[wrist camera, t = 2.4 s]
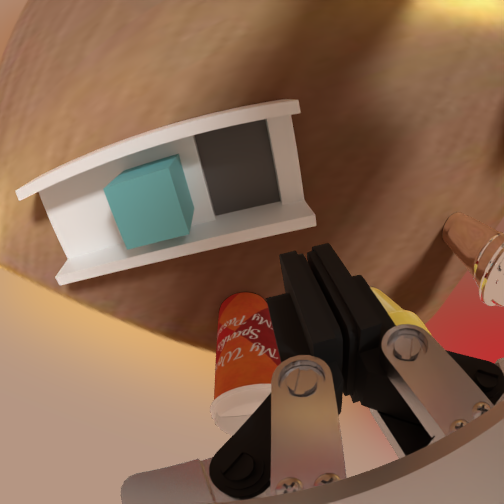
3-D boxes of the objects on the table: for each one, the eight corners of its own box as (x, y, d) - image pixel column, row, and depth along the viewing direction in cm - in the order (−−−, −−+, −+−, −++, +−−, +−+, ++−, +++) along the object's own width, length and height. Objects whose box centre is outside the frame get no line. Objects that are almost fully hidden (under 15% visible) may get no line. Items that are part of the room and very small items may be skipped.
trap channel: (39, 175, 23) (15, 190, 19) (284, 98, 22) (298, 99, 18) (76, 261, 28) (59, 285, 24) (302, 205, 27) (316, 225, 23)
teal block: (123, 170, 23) (103, 188, 18) (178, 153, 23) (168, 167, 18) (141, 222, 25) (127, 249, 21) (194, 208, 25) (189, 234, 21)
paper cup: (261, 272, 31) (287, 386, 19) (287, 320, 34) (316, 423, 22) (195, 301, 32) (189, 415, 20) (228, 343, 35) (236, 446, 23)
